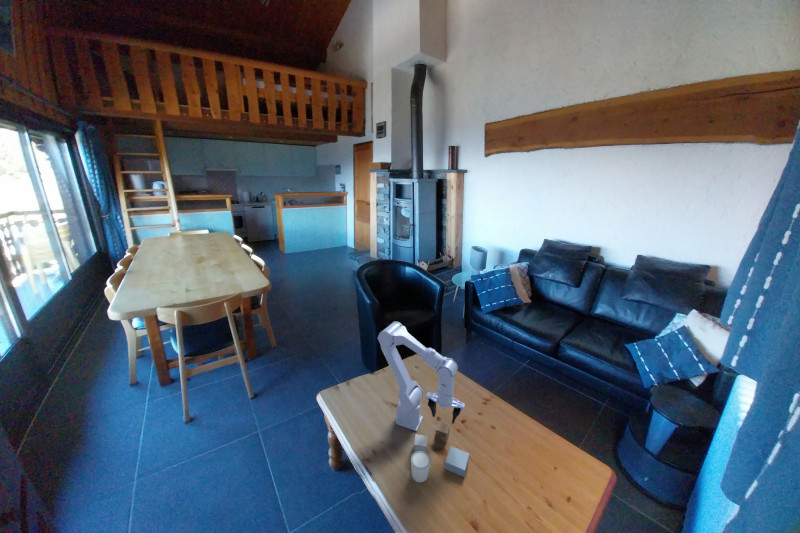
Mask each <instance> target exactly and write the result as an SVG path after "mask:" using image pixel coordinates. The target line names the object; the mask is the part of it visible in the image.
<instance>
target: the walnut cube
mask: <svg viewBox="0 0 800 533" xmlns="http://www.w3.org/2000/svg"><path fill="white" fill-rule="evenodd" d="M450 430H451V425H450V424H448V423H445V422H443V421H441V420H438V422H437V425H436V428H435V434H434V440H436V441H439V442H442V443H444V444H447V442H448V438H449V435H450Z"/></svg>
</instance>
